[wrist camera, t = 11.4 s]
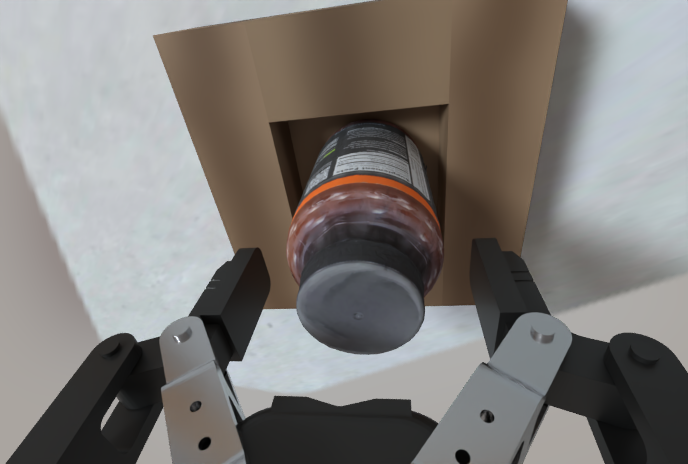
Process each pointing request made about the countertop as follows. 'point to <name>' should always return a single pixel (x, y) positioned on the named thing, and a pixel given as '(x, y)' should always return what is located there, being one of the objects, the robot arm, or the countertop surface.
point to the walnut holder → (372, 113)
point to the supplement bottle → (365, 240)
